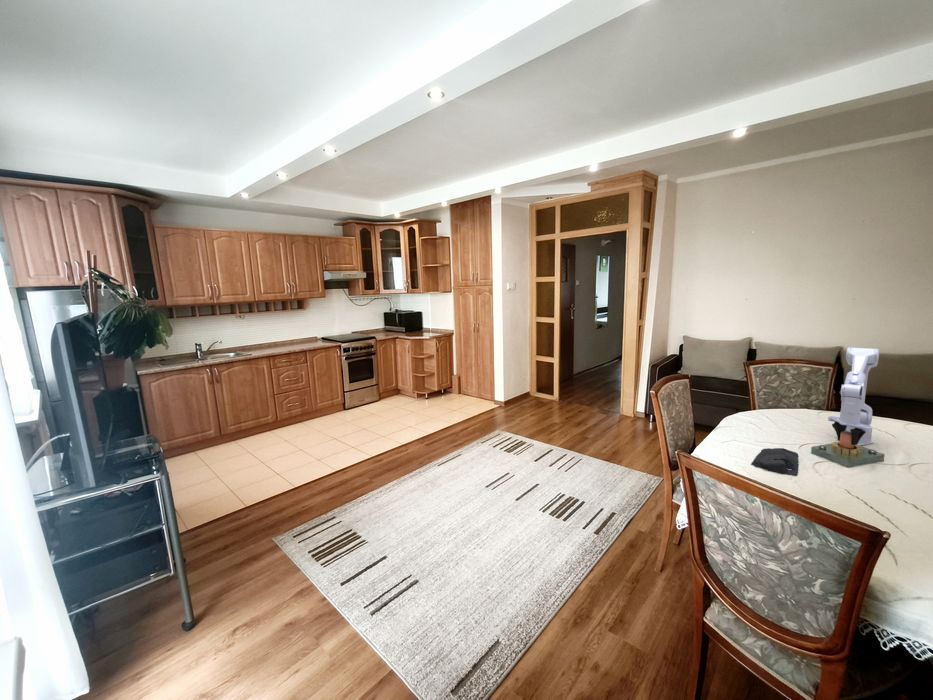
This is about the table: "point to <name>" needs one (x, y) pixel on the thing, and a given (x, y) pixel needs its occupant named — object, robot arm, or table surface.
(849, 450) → the metal plate with ring
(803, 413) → the table surface
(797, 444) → the table surface
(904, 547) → the table surface
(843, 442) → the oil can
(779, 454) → the dark slate chunk
